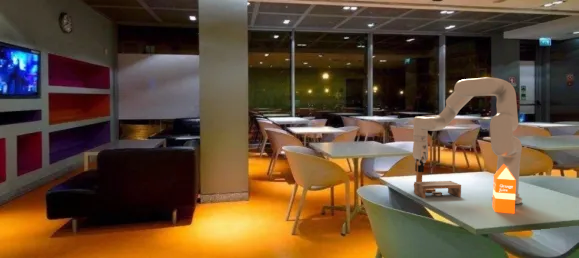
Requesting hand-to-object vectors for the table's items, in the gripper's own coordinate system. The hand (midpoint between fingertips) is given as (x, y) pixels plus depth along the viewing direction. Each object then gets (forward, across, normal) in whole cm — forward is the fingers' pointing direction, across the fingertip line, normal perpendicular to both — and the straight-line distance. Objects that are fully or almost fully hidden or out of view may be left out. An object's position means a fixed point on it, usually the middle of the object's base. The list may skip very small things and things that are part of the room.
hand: (419, 171), depth 225 cm
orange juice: (+9, -50, -15) cm, 53 cm away
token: (+9, -20, 0) cm, 22 cm away
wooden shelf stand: (+9, -20, 0) cm, 22 cm away
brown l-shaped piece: (+8, -6, 0) cm, 10 cm away
